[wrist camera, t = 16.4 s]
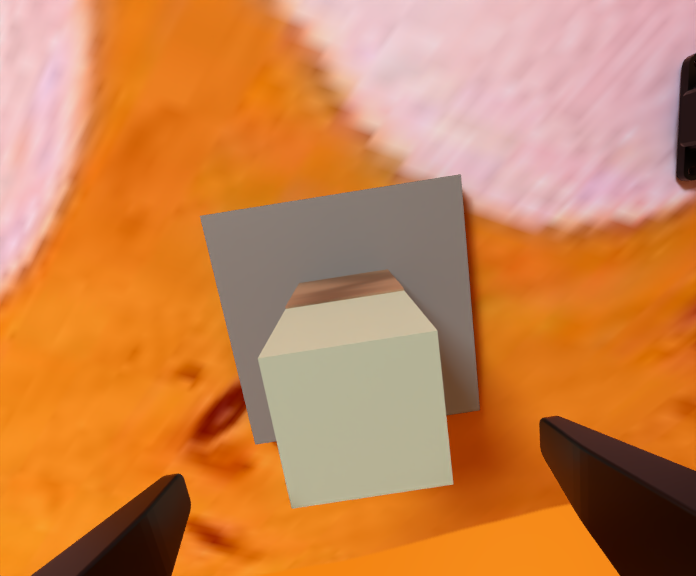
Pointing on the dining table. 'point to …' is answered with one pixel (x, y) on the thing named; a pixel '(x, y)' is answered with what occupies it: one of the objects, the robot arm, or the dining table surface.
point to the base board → (346, 271)
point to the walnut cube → (344, 288)
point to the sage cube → (357, 399)
